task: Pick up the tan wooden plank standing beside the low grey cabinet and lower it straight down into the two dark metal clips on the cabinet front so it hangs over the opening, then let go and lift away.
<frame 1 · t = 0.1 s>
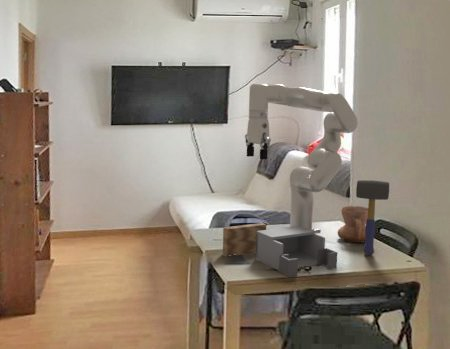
hand: (256, 157, 228), 37 cm above the table, tool pointing down, fingers open, 9 cm apart
tan wooden plank: (244, 253, 223), on the table
ceramic jug: (354, 241, 245), on the table
rubber mallet: (368, 255, 224), on the table
cabinet: (289, 261, 213), on the table
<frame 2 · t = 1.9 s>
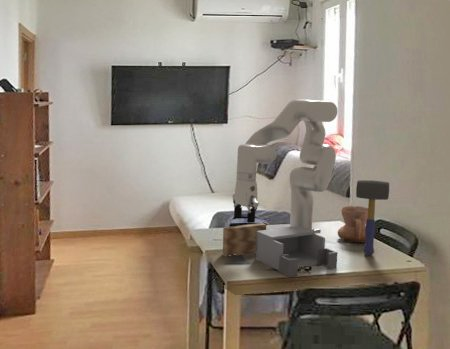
hand: (244, 219, 221), 13 cm above the table, tool pointing down, fingers open, 9 cm apart
nothing on the table moved.
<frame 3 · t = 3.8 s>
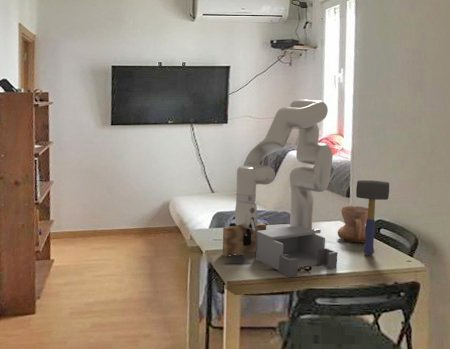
hand: (244, 243, 222), 4 cm above the table, tool pointing down, fingers closed on tan wooden plank, 3 cm apart
tan wooden plank: (244, 252, 223), on the table, touching gripper
everything else where it was.
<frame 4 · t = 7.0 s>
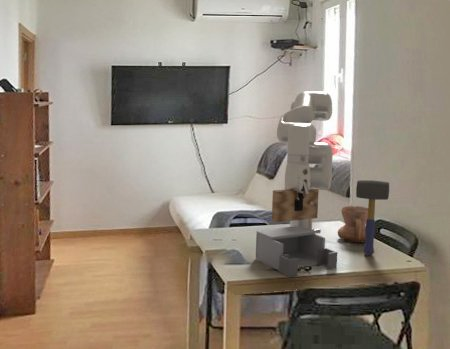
hand: (295, 209, 204), 21 cm above the table, tool pointing down, fingers closed on tan wooden plank, 3 cm apart
tan wooden plank: (294, 219, 205), point 18 cm above the table, touching gripper
everything else where it was.
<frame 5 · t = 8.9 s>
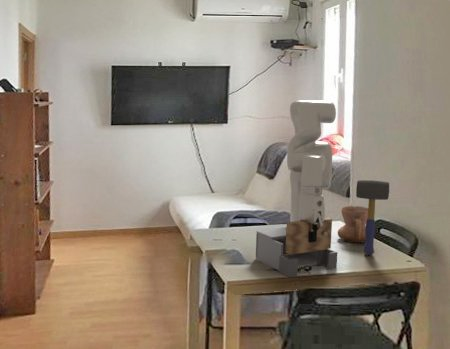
hand: (309, 240, 202), 11 cm above the table, tool pointing down, fingers closed on tan wooden plank, 3 cm apart
tan wooden plank: (308, 250, 203), point 7 cm above the table, touching gripper
everything else where it was.
when the fingers open (5 cm above the table, at t = 10.5 s): tan wooden plank stays where it is, resting in cabinet.
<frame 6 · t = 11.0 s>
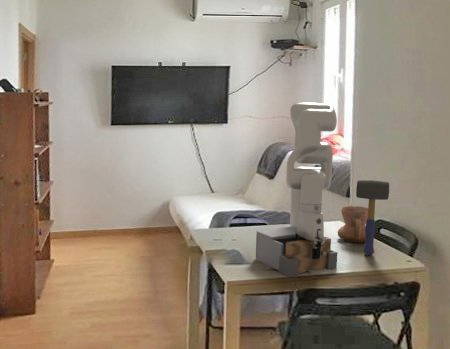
hand: (308, 255, 203), 5 cm above the table, tool pointing down, fingers open, 8 cm apart
tan wooden plank: (307, 270, 204), resting in cabinet
everything else where it was.
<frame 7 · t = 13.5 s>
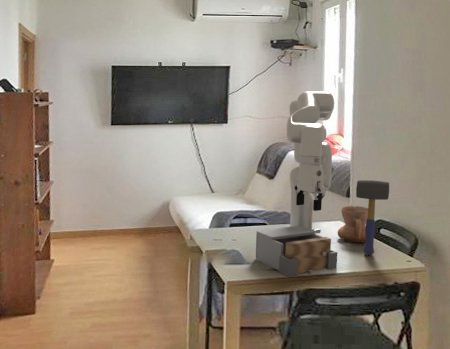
hand: (308, 207, 203), 22 cm above the table, tool pointing down, fingers open, 9 cm apart
nothing on the table moved.
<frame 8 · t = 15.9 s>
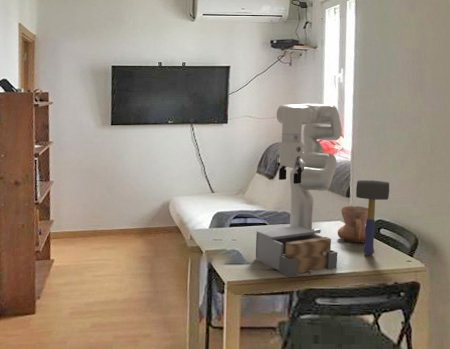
hand: (289, 181, 223), 28 cm above the table, tool pointing down, fingers open, 9 cm apart
nothing on the table moved.
at the end: tan wooden plank 0.2 cm from the target spot on the cabinet, point 0.0 cm above the cabinet's base; tan wooden plank tilted 0°; the gripper is holding nothing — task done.
